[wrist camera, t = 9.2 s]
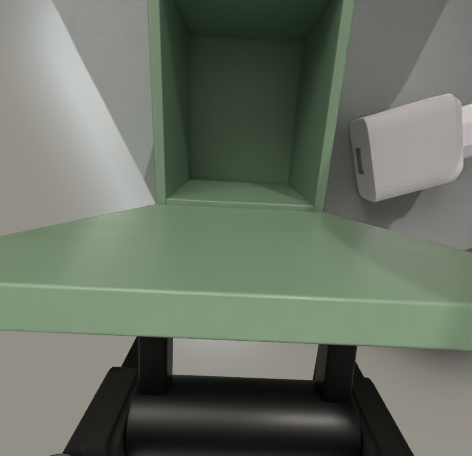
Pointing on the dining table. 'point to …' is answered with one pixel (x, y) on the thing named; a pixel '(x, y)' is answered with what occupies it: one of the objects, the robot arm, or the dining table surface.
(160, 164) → the bin
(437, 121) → the charger
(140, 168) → the dining table surface
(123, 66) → the dining table surface
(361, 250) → the bin lid
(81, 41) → the dining table surface
